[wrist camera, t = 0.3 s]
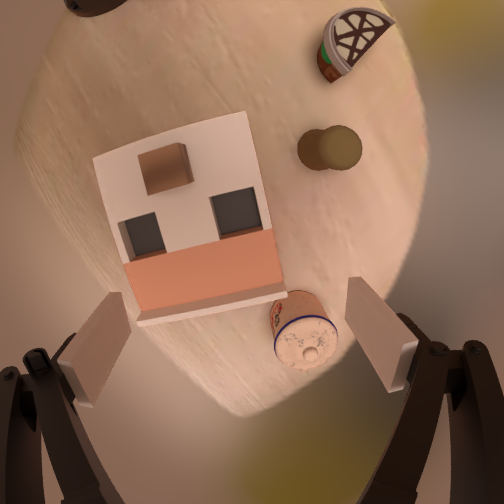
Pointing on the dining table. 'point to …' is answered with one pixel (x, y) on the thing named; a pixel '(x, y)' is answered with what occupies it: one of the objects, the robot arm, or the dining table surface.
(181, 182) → the walnut block
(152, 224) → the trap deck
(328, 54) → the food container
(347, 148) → the cork
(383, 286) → the dining table surface
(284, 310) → the teacup with lid
